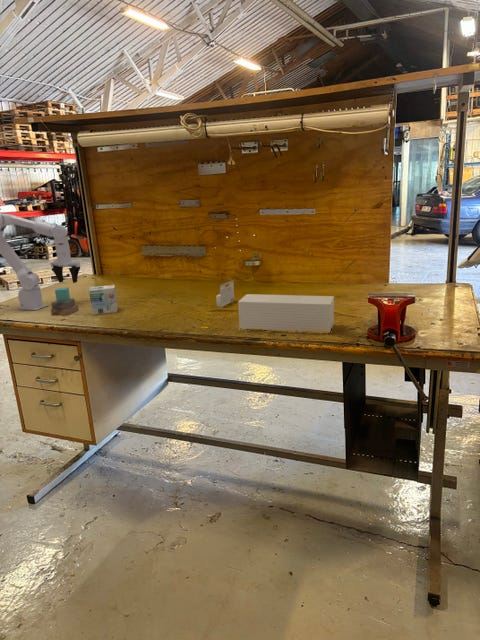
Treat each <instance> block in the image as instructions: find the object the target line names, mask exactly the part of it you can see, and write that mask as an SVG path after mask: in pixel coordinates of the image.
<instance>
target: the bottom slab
mask: <svg viewBox="0 0 480 640" xmlns="http://www.w3.org/2000/svg"><path fill="white" fill-rule="evenodd" d="M79 309H80V308H79V305H78V304H75V305H74V306H73V307H71V308H69V309H62V310H52V308H51V309H50V313H51V316H65V317H67V316H70V315H72V314H74V313H77V312H78V311H80V310H79Z"/></svg>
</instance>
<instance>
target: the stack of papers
mask: <svg viewBox="0 0 480 640" xmlns="http://www.w3.org/2000/svg"><path fill="white" fill-rule="evenodd" d="M237 305H238V325H239V328H238V329H240V328H242V329H263V330H292V331H293V330H294V331H296V330H297V331H328V332H330V331H331V328H332V326H333V323H334V324H335V318H334V317H335V316H334V315H335V296H333V295H330V296H329V295H293V294H258V293H257V294H254V293H250V294H245V295H244V296H243V297H242V298H241V299H239V300H238V301H237ZM333 327H334V326H333ZM332 329H333V328H332ZM331 332H332V331H331Z"/></svg>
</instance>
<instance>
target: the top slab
mask: <svg viewBox="0 0 480 640" xmlns="http://www.w3.org/2000/svg"><path fill="white" fill-rule="evenodd" d="M75 301H76V300H75V298H74V297H73V298H71V297H70V299H69V300H68V301H59V302H57V300H54V301H52V302H51V309H52V310H62V309H69V308H71V307H73V306H74V305H76V302H75Z"/></svg>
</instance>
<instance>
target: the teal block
mask: <svg viewBox="0 0 480 640" xmlns="http://www.w3.org/2000/svg"><path fill="white" fill-rule="evenodd" d="M54 293H55V299H56V300H57V302H59V301H68V300H69V299H70V298H71V296H70V295H71V294H70V290H69V287H68V286H65V287H57V288H56V289H54ZM56 300H55V301H56Z"/></svg>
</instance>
